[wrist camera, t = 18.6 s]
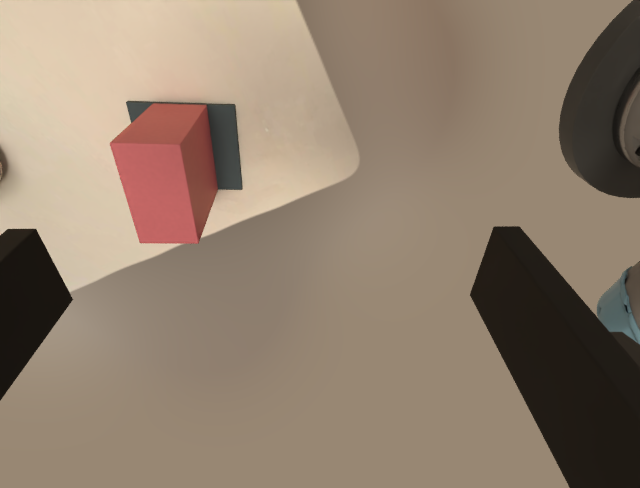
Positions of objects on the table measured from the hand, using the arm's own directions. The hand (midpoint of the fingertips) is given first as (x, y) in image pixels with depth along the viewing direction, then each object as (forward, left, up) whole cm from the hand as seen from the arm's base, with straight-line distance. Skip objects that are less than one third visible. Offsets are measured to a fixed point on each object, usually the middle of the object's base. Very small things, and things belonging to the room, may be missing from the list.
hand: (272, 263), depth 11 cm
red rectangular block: (+10, +8, -28) cm, 31 cm away
